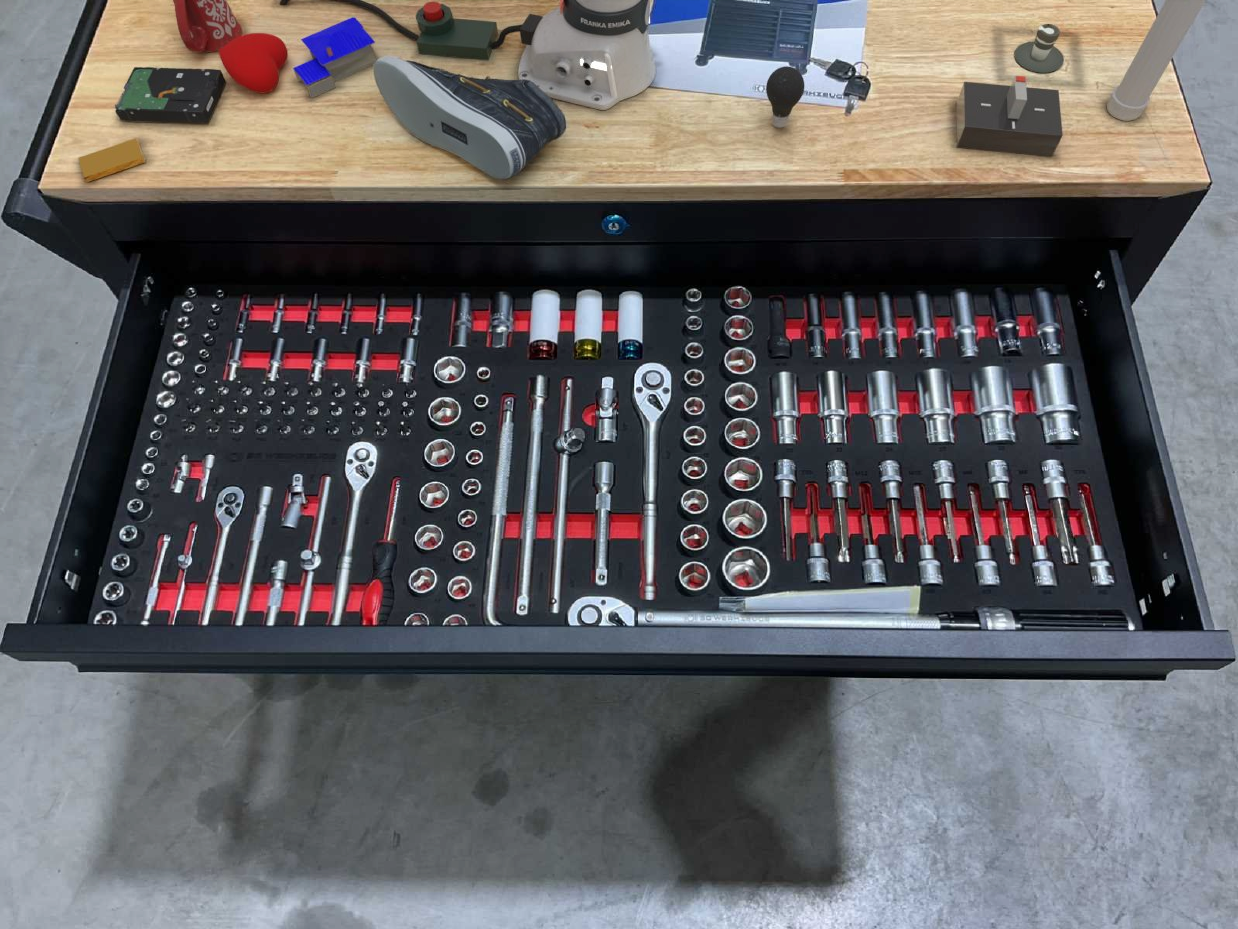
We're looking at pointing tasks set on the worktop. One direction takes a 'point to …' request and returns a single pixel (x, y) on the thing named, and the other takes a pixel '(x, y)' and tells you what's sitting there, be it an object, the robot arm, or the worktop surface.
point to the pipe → (1153, 58)
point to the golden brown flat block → (111, 160)
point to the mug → (206, 24)
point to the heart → (255, 60)
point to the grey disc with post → (1041, 51)
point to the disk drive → (170, 95)
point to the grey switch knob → (1016, 97)
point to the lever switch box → (1008, 120)
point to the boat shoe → (471, 114)
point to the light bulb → (784, 93)
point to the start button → (433, 11)
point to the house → (335, 55)
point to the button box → (455, 36)
